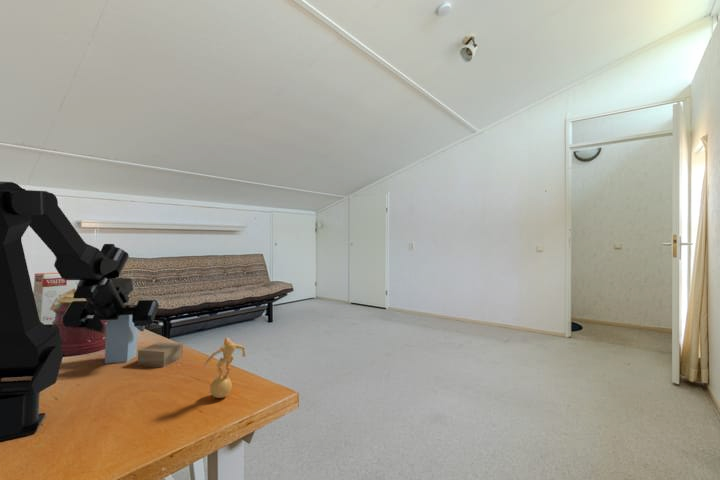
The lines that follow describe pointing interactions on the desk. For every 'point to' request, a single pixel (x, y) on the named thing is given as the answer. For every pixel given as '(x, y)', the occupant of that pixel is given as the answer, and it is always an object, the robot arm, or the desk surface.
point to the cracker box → (50, 294)
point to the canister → (77, 332)
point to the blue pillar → (120, 340)
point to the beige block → (160, 354)
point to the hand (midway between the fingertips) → (123, 330)
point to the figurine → (221, 383)
